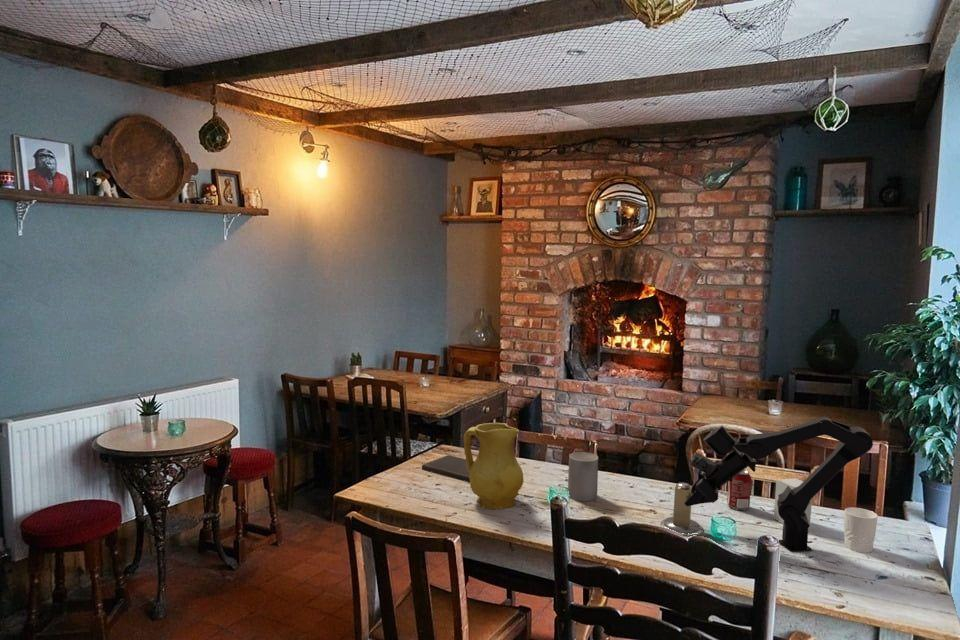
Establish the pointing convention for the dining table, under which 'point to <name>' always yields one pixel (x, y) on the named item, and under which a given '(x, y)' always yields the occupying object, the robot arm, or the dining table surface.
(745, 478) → the soda can
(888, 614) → the dining table surface
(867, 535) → the white cup
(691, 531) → the plate
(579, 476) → the pillar candle
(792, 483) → the supplement box
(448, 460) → the hardcover book
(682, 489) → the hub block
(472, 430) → the pitcher
